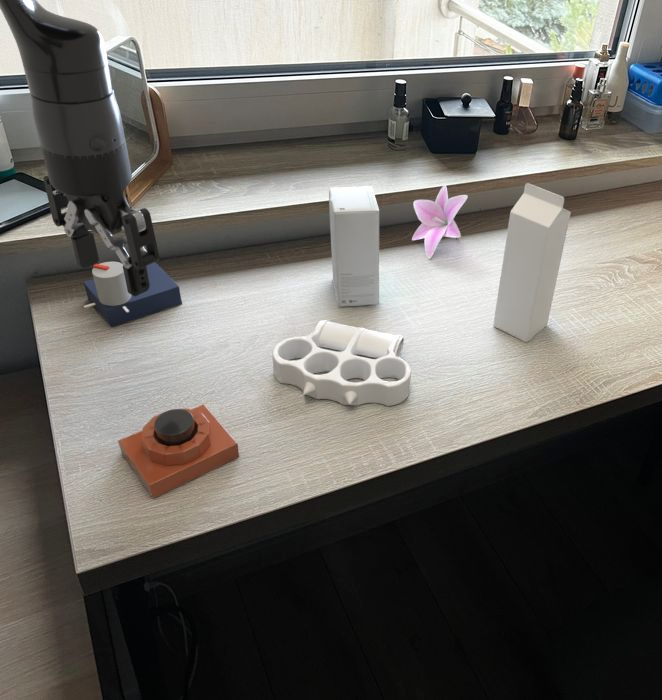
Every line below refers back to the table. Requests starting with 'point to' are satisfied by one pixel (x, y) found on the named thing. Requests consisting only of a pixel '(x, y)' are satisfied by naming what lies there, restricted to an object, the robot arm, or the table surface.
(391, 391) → the white brass knuckles
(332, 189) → the cosmetic box
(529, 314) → the milk
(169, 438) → the dark grey short cylinder
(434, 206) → the lily
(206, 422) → the button base
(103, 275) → the dial
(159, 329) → the table surface
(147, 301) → the dial panel
